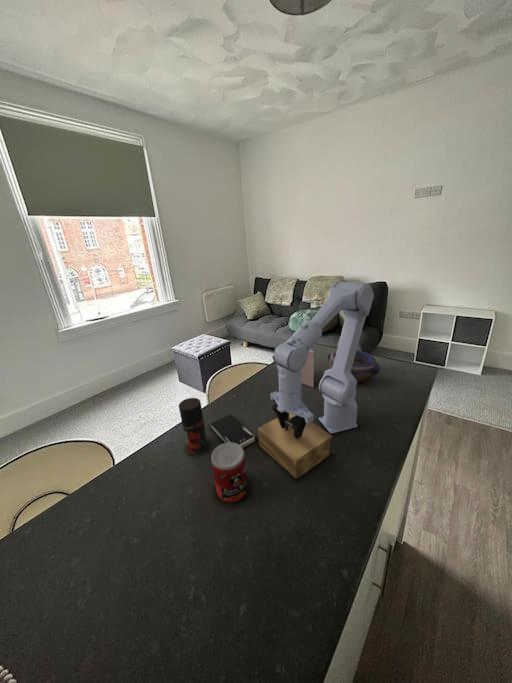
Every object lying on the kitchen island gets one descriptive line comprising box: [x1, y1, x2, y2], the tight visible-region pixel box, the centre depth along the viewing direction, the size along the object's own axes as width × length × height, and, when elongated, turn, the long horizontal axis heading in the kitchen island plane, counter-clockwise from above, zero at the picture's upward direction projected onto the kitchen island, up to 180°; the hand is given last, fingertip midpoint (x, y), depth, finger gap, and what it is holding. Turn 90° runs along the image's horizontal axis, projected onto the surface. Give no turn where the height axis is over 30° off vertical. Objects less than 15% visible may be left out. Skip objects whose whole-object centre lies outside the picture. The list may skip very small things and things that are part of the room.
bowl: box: [327, 349, 381, 384], centre depth 112 cm, size 18×18×10 cm
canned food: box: [210, 442, 248, 504], centre depth 66 cm, size 8×8×11 cm
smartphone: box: [210, 414, 256, 449], centre depth 87 cm, size 8×1×15 cm
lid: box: [257, 413, 333, 463], centre depth 76 cm, size 13×16×5 cm
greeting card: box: [301, 349, 316, 388], centre depth 111 cm, size 11×7×15 cm, turn 13°
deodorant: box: [178, 397, 208, 455], centre depth 80 cm, size 6×6×15 cm
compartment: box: [257, 430, 331, 480], centre depth 78 cm, size 13×16×5 cm
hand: (291, 431), depth 76 cm, fingers closed on lid, 5 cm apart
